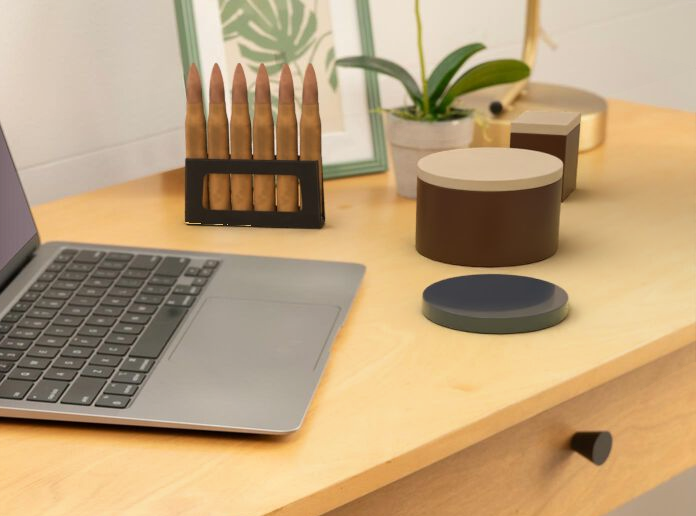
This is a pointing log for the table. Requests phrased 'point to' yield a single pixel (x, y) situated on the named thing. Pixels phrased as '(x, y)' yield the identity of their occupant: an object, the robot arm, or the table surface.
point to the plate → (495, 303)
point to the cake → (488, 206)
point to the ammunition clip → (241, 165)
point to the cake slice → (550, 139)
